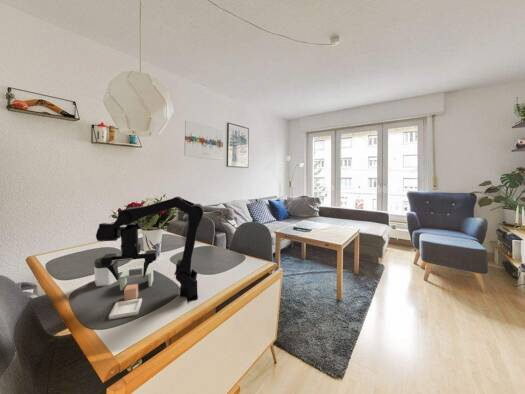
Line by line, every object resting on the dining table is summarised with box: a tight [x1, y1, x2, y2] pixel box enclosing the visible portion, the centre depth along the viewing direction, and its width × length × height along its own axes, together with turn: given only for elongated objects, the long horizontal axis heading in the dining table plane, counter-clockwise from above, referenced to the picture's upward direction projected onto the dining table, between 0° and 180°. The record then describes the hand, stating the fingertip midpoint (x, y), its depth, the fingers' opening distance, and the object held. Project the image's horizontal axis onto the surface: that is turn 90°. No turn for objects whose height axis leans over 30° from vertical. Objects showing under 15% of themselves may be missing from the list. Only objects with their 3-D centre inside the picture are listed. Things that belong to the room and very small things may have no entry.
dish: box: [108, 298, 143, 320], centre depth 79 cm, size 9×9×1 cm
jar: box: [93, 256, 119, 287], centre depth 99 cm, size 9×8×12 cm
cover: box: [119, 266, 154, 291], centre depth 97 cm, size 12×7×8 cm, turn 110°
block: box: [123, 283, 139, 301], centre depth 86 cm, size 4×4×5 cm
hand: (131, 278), depth 86 cm, fingers open, 9 cm apart
